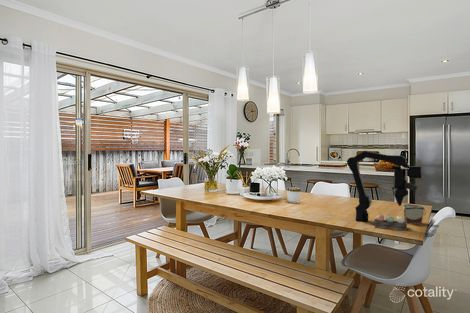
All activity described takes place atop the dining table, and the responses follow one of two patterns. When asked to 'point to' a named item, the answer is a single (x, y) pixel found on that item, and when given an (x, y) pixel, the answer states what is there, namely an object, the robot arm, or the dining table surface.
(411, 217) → the food container
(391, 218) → the button sage
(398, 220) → the button cream
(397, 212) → the dining table surface
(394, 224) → the button panel
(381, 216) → the button terracotta
